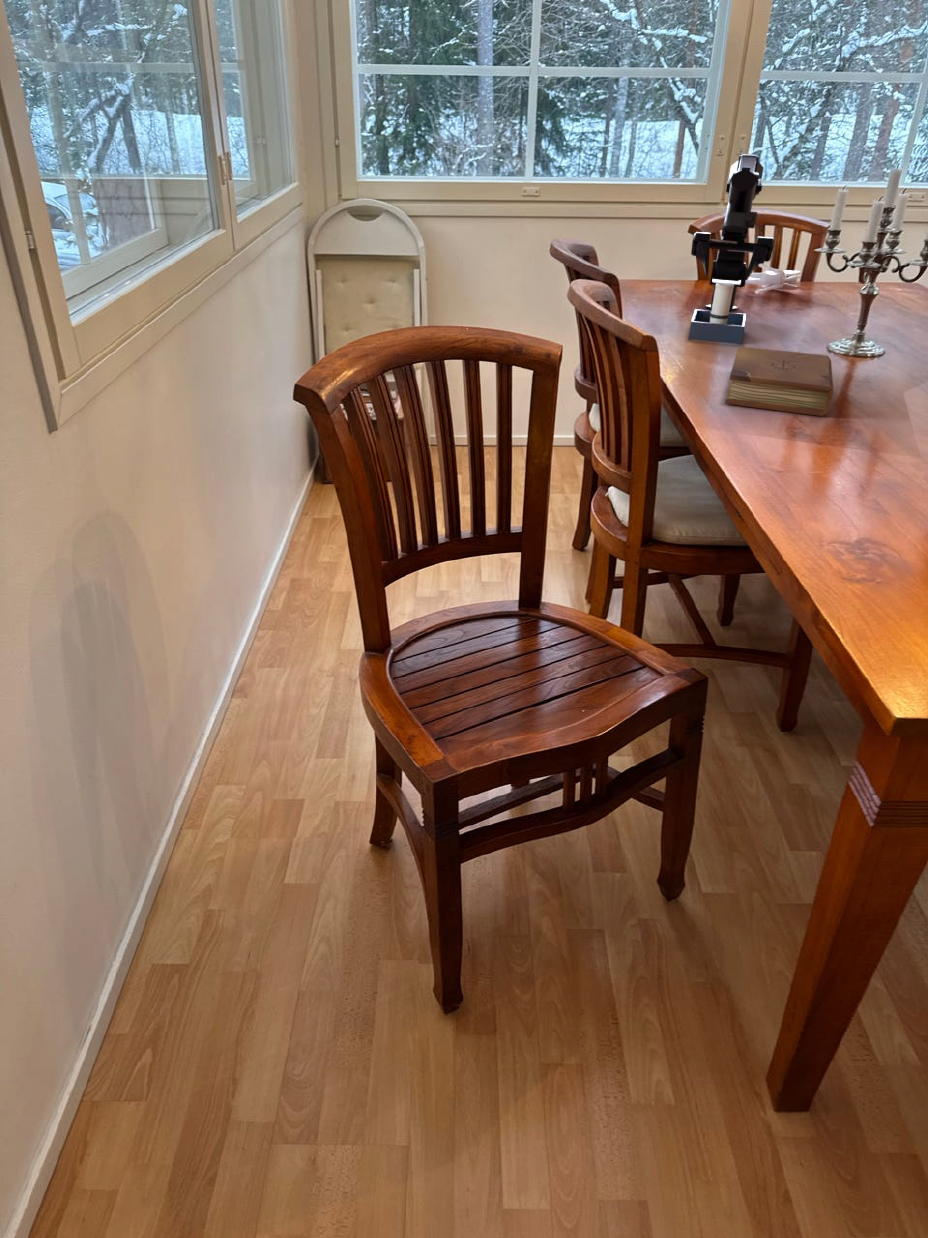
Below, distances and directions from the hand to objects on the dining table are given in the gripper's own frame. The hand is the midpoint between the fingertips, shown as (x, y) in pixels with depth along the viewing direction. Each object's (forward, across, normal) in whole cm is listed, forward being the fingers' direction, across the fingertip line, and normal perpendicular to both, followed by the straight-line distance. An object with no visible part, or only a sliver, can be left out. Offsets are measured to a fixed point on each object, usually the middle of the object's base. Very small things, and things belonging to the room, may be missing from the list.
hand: (726, 277), depth 208 cm
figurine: (-30, +10, +48) cm, 57 cm away
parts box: (+12, 0, +6) cm, 14 cm away
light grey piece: (+13, 0, +4) cm, 14 cm away
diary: (+41, +14, -22) cm, 49 cm away
